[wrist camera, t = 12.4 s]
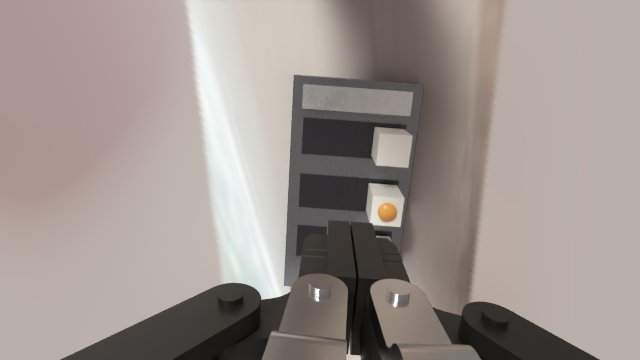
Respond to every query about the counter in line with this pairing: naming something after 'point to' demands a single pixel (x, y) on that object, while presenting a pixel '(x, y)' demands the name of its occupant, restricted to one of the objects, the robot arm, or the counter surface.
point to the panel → (342, 154)
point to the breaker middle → (384, 205)
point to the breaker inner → (391, 147)
